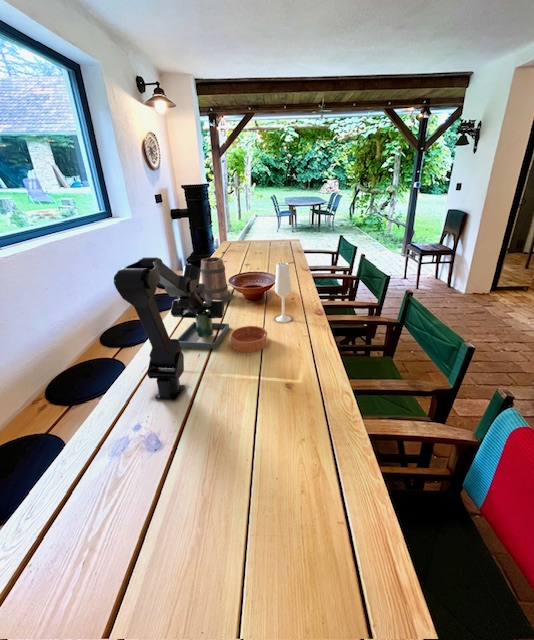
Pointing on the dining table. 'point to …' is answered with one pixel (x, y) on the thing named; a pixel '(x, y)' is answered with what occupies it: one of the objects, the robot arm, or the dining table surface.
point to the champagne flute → (283, 287)
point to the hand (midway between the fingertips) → (204, 317)
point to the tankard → (214, 279)
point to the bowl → (249, 339)
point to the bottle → (204, 324)
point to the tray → (191, 337)
